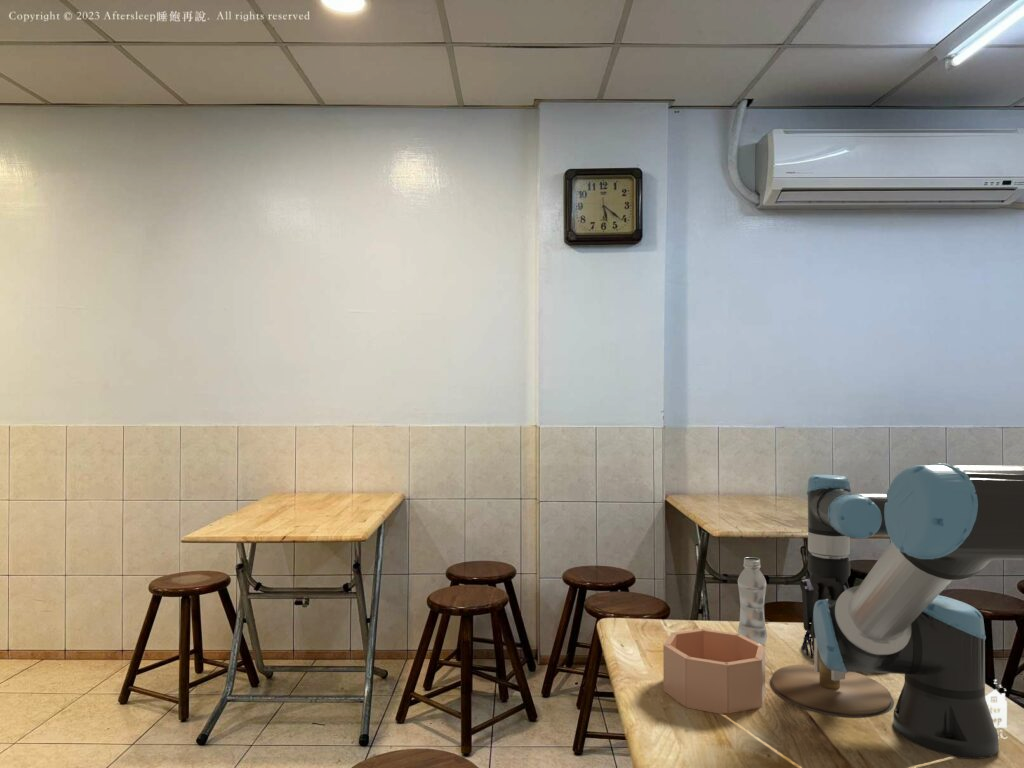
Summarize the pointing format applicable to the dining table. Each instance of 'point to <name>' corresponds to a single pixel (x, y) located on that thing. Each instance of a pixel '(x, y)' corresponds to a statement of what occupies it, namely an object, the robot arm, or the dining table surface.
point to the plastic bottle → (752, 601)
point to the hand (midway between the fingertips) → (829, 674)
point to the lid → (831, 690)
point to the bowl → (714, 670)
